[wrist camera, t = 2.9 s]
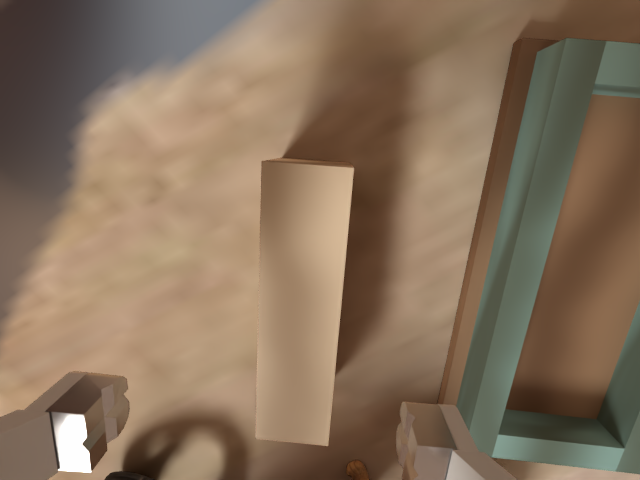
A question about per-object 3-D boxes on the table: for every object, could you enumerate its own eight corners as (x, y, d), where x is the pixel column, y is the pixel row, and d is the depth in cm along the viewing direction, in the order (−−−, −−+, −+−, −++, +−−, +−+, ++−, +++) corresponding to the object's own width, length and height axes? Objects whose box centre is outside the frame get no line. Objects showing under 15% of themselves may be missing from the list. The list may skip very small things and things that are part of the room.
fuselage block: (349, 162, 18) (354, 168, 13) (330, 377, 21) (328, 445, 16) (282, 157, 18) (261, 161, 13) (274, 372, 21) (255, 438, 16)
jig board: (761, 63, 15) (851, 45, 13) (614, 440, 21) (655, 483, 18) (513, 43, 16) (550, 21, 13) (433, 420, 21) (447, 460, 18)
